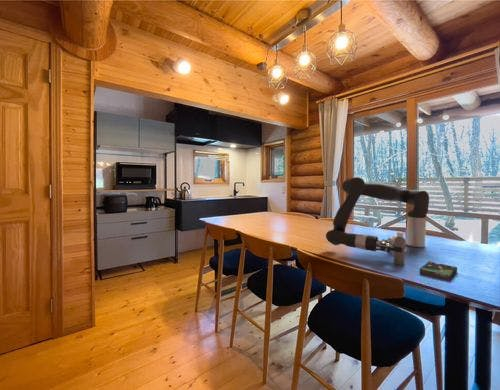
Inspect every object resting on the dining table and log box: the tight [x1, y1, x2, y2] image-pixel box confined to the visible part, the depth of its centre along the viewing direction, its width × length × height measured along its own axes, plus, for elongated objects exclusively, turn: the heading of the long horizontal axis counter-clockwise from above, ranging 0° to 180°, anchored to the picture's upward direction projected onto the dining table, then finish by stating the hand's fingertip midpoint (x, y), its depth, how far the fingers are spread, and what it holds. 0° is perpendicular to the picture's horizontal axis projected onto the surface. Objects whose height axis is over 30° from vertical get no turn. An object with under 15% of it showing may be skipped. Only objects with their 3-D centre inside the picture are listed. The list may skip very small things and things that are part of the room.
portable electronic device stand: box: [387, 235, 408, 254], centre depth 135 cm, size 9×8×8 cm
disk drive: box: [419, 261, 458, 282], centre depth 106 cm, size 10×3×15 cm
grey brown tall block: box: [393, 231, 406, 267], centre depth 116 cm, size 4×4×15 cm
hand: (403, 248), depth 115 cm, fingers open, 8 cm apart
